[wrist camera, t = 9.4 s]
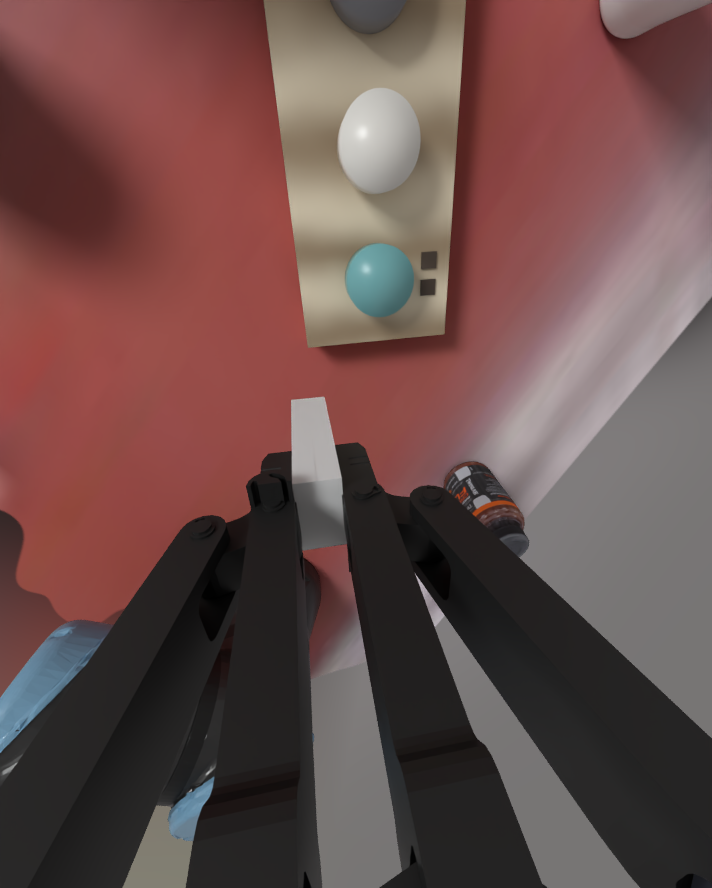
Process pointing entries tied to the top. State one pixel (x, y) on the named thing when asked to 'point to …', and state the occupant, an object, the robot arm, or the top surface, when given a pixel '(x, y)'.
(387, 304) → the teal button
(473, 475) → the supplement bottle
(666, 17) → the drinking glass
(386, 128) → the white button
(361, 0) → the grey button
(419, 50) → the button panel
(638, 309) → the top surface
